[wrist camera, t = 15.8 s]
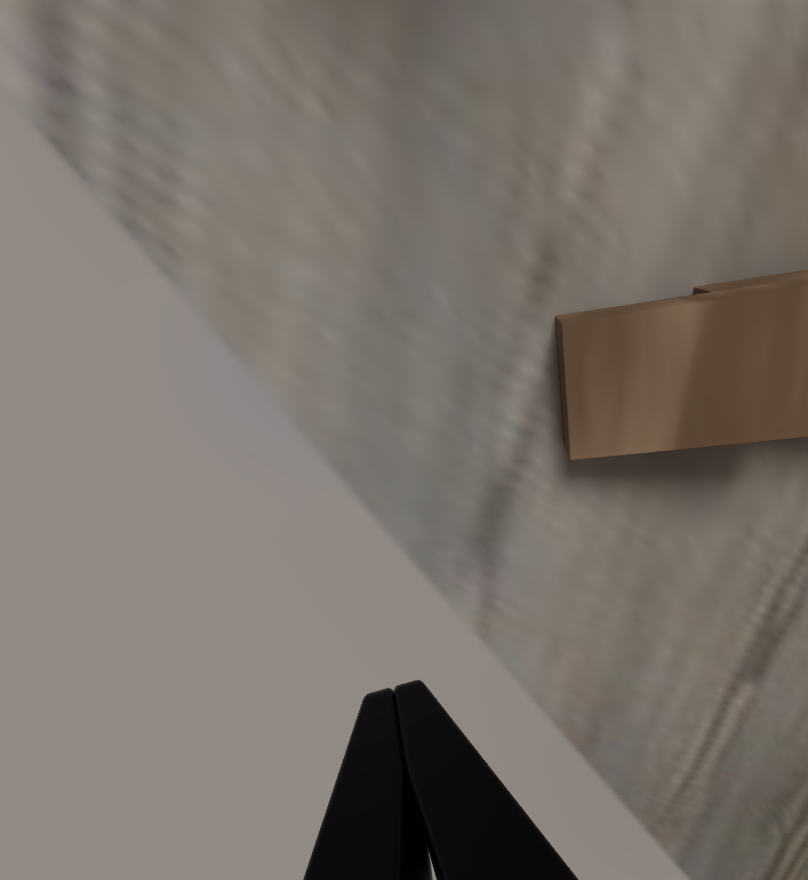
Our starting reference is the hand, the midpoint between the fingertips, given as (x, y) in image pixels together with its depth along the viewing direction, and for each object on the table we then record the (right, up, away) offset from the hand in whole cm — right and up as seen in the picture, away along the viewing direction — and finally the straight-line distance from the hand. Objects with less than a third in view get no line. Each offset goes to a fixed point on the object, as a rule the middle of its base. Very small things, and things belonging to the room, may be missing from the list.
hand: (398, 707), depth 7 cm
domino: (+6, +6, +11) cm, 14 cm away
